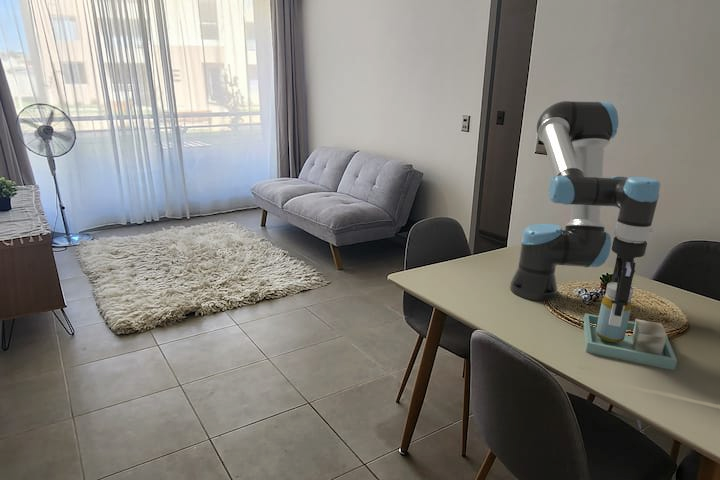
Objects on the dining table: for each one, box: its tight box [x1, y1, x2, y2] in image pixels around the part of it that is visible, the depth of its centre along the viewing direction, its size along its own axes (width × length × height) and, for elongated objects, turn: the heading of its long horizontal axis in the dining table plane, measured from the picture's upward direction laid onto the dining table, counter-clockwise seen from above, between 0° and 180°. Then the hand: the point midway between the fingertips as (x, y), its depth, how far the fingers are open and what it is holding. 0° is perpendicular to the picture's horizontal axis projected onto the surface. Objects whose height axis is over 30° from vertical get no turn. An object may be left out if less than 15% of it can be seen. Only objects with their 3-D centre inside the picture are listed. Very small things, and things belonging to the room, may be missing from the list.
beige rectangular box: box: [631, 318, 668, 356], centre depth 123 cm, size 6×7×6 cm
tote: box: [582, 312, 678, 371], centre depth 125 cm, size 20×18×4 cm
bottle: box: [596, 281, 634, 343], centre depth 124 cm, size 7×7×15 cm
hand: (613, 318), depth 125 cm, fingers closed on bottle, 7 cm apart
